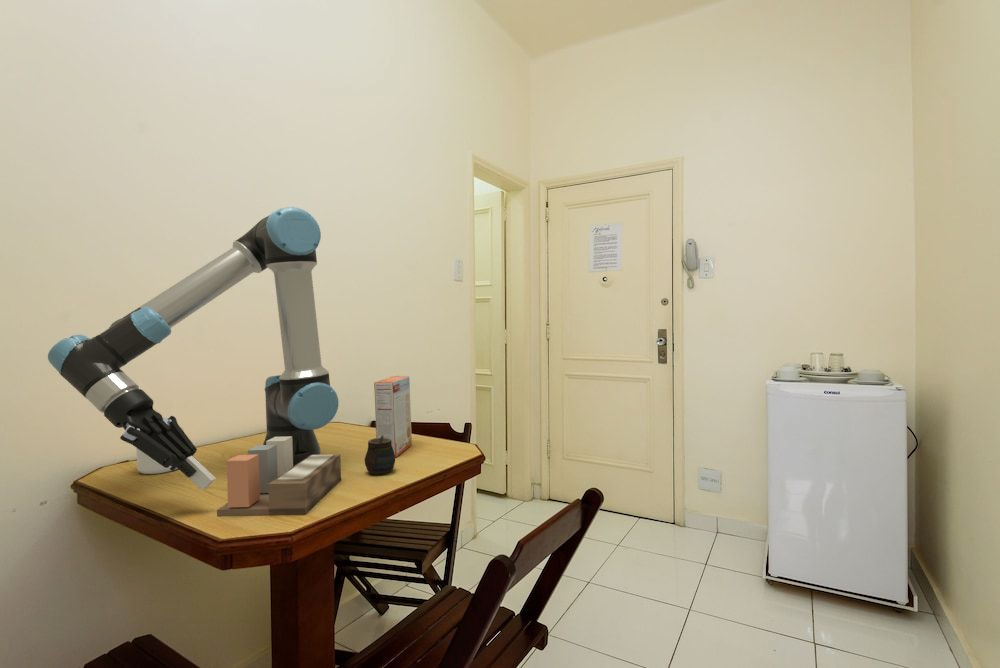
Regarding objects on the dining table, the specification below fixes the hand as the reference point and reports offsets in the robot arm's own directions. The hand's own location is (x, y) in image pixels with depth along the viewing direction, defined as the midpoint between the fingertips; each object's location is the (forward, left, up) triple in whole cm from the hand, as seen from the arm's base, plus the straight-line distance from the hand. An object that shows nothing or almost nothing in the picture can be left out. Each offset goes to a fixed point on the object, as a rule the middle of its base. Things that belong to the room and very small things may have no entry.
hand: (209, 484), depth 98 cm
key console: (-8, +11, -5) cm, 15 cm away
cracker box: (-44, +27, -6) cm, 52 cm away
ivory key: (-16, +7, -4) cm, 18 cm away
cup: (-30, -30, -6) cm, 43 cm away
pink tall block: (0, +7, -4) cm, 8 cm away
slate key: (-8, +7, -4) cm, 11 cm away
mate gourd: (-24, +28, -6) cm, 37 cm away
